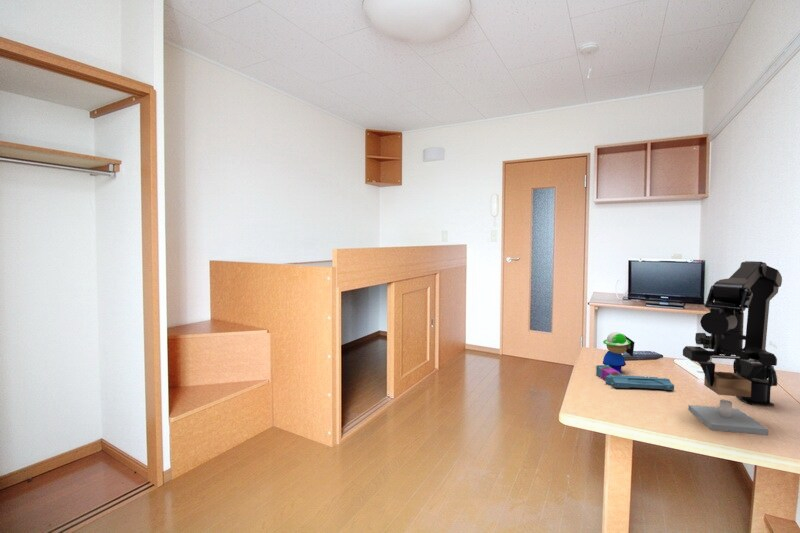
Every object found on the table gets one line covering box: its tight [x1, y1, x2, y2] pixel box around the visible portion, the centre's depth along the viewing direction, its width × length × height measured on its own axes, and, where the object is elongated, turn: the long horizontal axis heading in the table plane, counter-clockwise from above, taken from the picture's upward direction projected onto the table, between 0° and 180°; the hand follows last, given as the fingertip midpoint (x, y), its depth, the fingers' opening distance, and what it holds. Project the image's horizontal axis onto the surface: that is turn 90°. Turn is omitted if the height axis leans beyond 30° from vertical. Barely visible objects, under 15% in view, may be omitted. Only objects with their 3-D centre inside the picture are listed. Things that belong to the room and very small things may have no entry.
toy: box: [602, 331, 635, 374], centre depth 141 cm, size 9×9×15 cm
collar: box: [703, 371, 751, 397], centre depth 101 cm, size 7×7×4 cm
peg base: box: [687, 399, 769, 436], centre depth 101 cm, size 12×12×6 cm
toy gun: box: [595, 364, 675, 391], centre depth 130 cm, size 4×20×15 cm
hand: (726, 386), depth 101 cm, fingers closed on collar, 7 cm apart
